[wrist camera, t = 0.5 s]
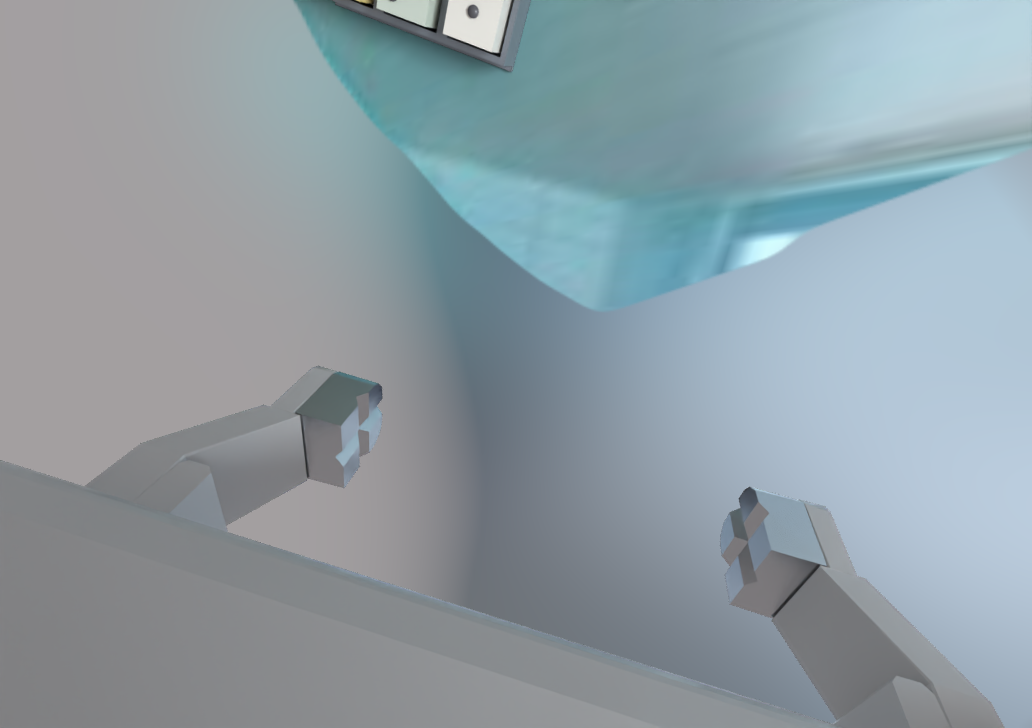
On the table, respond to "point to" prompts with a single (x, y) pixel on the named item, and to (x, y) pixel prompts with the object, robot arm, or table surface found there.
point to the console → (437, 36)
